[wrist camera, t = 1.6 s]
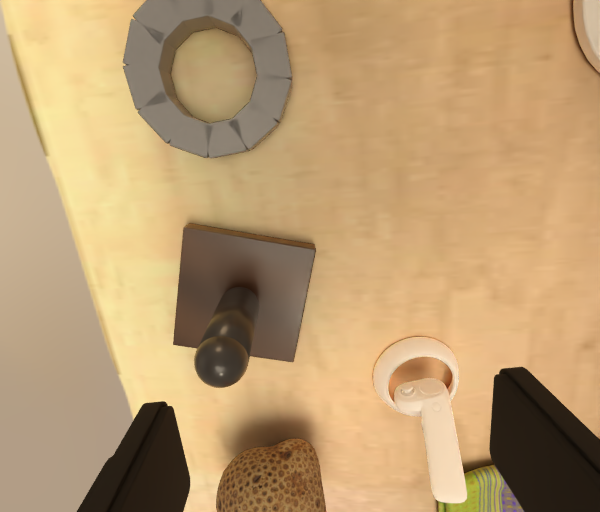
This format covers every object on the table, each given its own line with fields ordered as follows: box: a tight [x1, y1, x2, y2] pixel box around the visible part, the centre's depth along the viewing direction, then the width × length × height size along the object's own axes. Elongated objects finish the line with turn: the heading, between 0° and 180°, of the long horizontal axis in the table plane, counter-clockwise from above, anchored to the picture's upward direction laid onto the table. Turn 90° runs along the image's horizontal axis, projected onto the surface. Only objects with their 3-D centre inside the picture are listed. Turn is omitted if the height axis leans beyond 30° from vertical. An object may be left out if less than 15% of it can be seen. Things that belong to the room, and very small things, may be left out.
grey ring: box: [123, 0, 292, 158], centre depth 24 cm, size 10×10×2 cm
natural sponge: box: [216, 438, 326, 512], centre depth 30 cm, size 9×9×10 cm
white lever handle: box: [373, 337, 467, 503], centre depth 30 cm, size 8×12×7 cm
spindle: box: [173, 223, 316, 388], centre depth 25 cm, size 10×10×12 cm
